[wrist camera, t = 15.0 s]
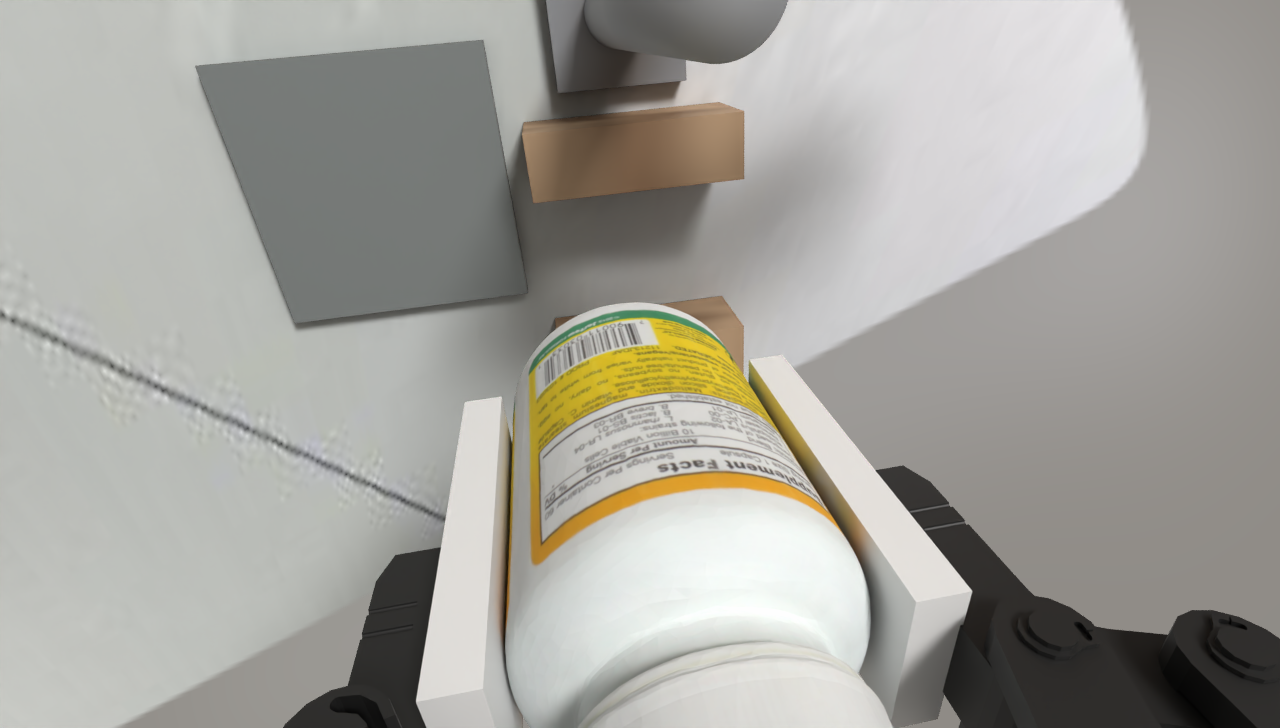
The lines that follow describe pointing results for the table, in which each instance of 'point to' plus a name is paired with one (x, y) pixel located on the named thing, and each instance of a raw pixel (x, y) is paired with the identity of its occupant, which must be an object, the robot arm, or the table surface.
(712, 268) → the table surface
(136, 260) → the table surface
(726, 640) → the supplement bottle
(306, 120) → the mat
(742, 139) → the wooden block set
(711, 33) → the grey orange l-shaped piece
